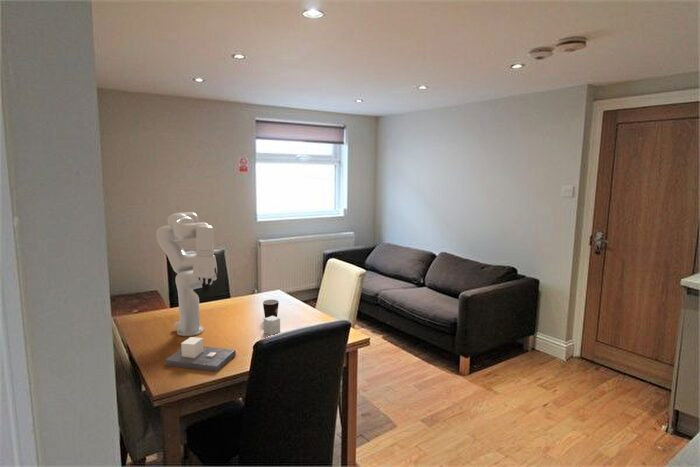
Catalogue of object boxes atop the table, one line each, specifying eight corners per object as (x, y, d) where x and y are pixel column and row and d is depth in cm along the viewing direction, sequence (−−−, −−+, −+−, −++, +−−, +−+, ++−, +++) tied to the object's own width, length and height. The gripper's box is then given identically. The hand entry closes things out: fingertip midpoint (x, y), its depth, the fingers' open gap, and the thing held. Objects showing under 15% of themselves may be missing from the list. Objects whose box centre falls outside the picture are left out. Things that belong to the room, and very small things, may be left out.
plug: (182, 361, 180) (181, 343, 179) (191, 354, 187) (190, 336, 186) (194, 363, 179) (193, 344, 178) (203, 356, 186) (203, 338, 185)
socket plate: (165, 365, 177) (164, 358, 177) (187, 349, 193) (187, 342, 192) (216, 372, 172) (216, 364, 172) (235, 355, 187) (235, 348, 187)
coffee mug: (270, 323, 226) (270, 305, 224) (259, 319, 231) (259, 302, 230) (286, 317, 235) (285, 300, 234) (275, 314, 240) (275, 297, 239)
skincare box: (272, 328, 219) (272, 315, 217) (280, 331, 215) (280, 318, 214) (263, 332, 214) (263, 318, 213) (271, 335, 210) (271, 321, 209)
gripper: (185, 252, 188) (186, 292, 191) (214, 255, 184) (215, 295, 188) (195, 249, 195) (196, 287, 199) (224, 252, 192) (225, 290, 195)
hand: (206, 291), depth 193 cm, fingers closed
